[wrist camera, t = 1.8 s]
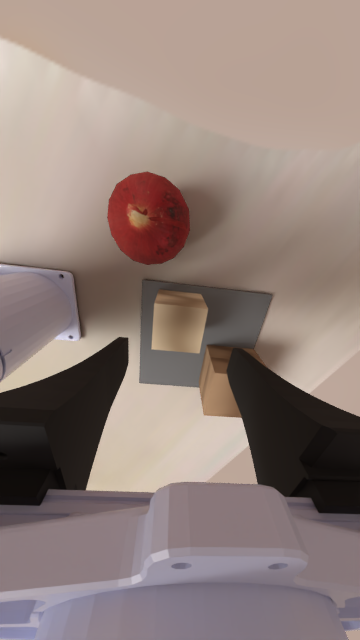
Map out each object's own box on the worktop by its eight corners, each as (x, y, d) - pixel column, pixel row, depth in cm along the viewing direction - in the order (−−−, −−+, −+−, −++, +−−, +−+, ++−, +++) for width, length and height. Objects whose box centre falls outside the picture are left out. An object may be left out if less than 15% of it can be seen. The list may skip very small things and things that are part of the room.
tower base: (198, 381, 24) (201, 396, 21) (206, 344, 21) (210, 357, 19) (240, 385, 24) (247, 399, 22) (253, 349, 22) (262, 361, 19)
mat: (139, 380, 24) (139, 383, 24) (143, 279, 18) (142, 280, 18) (238, 388, 25) (239, 390, 25) (270, 294, 19) (272, 295, 19)
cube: (156, 327, 20) (151, 349, 16) (158, 289, 18) (154, 303, 14) (194, 330, 20) (199, 353, 16) (201, 293, 19) (208, 308, 14)
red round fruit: (184, 186, 15) (192, 134, 8) (188, 256, 17) (198, 268, 10) (117, 193, 15) (63, 149, 8) (131, 262, 17) (99, 277, 10)
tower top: (201, 396, 21) (203, 415, 19) (210, 357, 19) (214, 372, 17) (247, 399, 22) (256, 418, 20) (262, 361, 19) (274, 377, 17)
